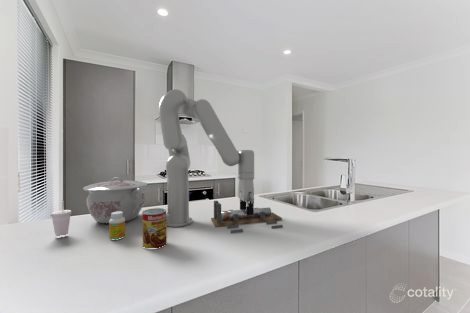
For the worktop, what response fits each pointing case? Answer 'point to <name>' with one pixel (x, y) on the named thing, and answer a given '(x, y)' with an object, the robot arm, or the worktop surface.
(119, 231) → the supplement bottle
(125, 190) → the chamber pot
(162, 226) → the canned food
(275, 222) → the set of grey slats
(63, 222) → the smoothie
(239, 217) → the tube
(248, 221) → the brown board
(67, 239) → the worktop surface
